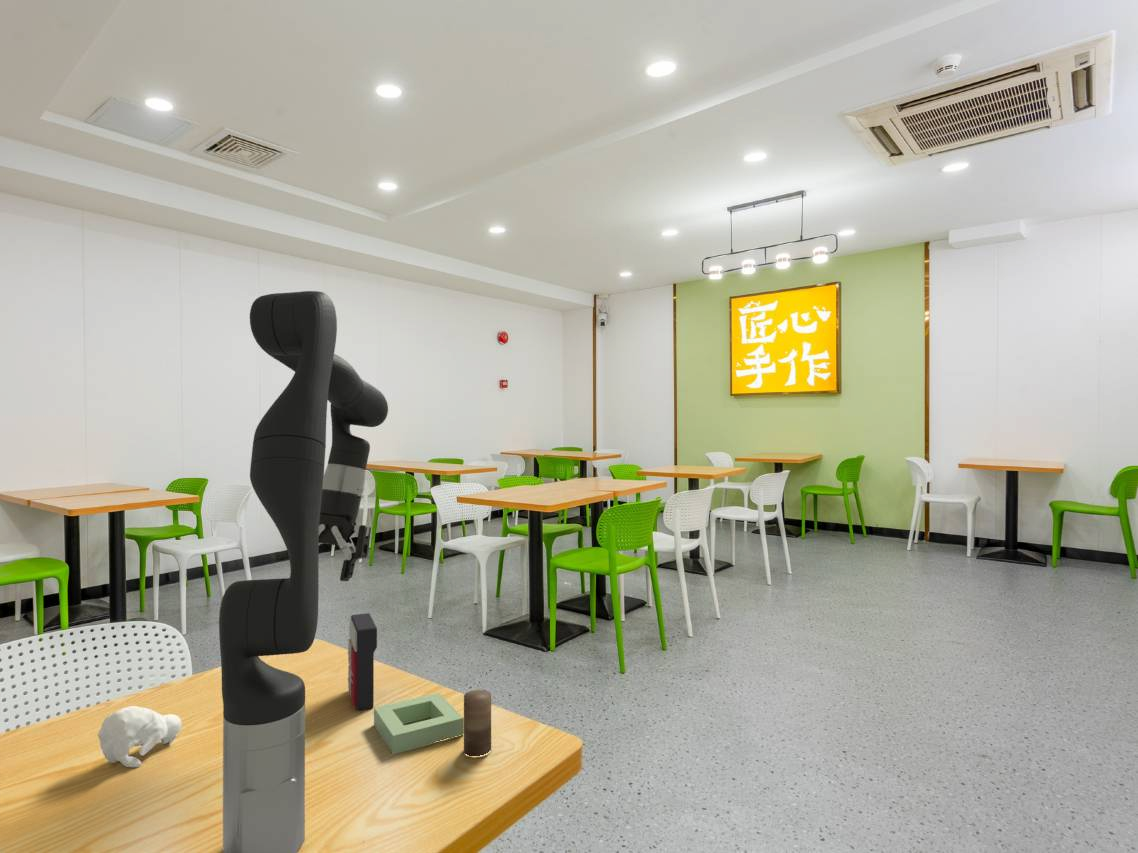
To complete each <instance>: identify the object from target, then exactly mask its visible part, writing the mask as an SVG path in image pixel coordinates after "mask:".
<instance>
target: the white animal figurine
mask: <svg viewBox="0 0 1138 853" xmlns="http://www.w3.org/2000/svg"><path fill="white" fill-rule="evenodd" d="M181 729H182V720H181V718H180V717H179V716H178V715H176V714H172V713H171V714H165V715H163V714H160V713H159V712H157V711H154V710H153V709H150V708H147V707H141V706H136V705H130V706H126V707H122V708H120V709H118V710H117V711H114V712H113V713H112V714H110V715H108V716H107V717H105V718H104V720H103V722H102V724H101V727H100V729H99V731H98V732H97V737H98V739H99V743H100V748H101V752H102V754H103V756H104V758H105V760H107V761H108V762H110V763H111V764H116V763H118V762H120V763H121V765H123V766H124V767H126V768H139V767H140V766H142V762H141V761H142V760H140V759H139V758H137V757H135V756H132V755H129V753H130V750H131V749H132V748H133V747H140V746H141V748H140V749H139V755H141V756H144V755H146V754H147V753H148V752H149V751H150V750H151V749H153V748H154V747H155V746H156V745H157V743H159V742H160V741H161V744H163V745H167V744H168V743H169V744H170V743H171V744H173V743H174V742H175V739H176V738H177V735H178V734H179V732H180V731H181Z"/></svg>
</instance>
